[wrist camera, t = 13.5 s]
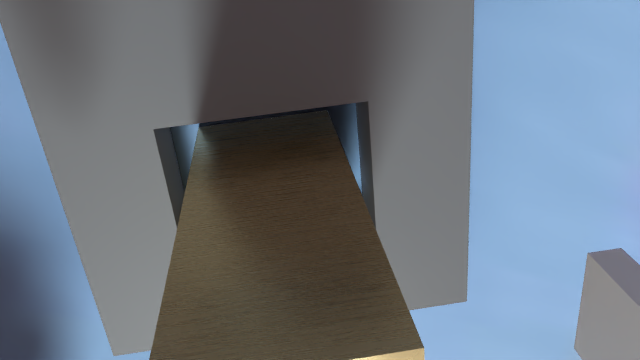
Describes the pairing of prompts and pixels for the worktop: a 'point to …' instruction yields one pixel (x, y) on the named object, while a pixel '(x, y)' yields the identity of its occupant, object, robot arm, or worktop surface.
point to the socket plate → (237, 102)
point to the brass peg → (279, 253)
